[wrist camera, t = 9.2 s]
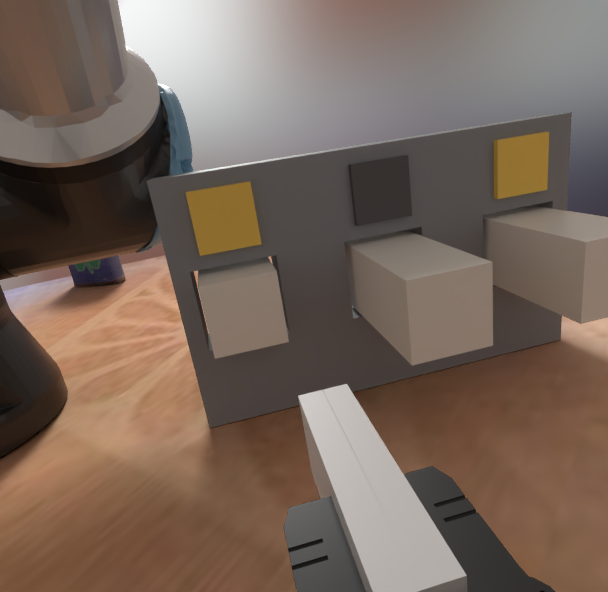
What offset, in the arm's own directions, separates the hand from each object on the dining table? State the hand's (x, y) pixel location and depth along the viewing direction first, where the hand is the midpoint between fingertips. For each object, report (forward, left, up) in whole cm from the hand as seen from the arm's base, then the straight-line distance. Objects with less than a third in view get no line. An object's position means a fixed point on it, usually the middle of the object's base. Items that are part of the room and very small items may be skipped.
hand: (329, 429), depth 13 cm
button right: (+18, +12, -3) cm, 22 cm away
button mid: (+8, +12, -3) cm, 15 cm away
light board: (+8, +19, -9) cm, 22 cm away
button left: (-1, +18, -3) cm, 19 cm away
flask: (-22, +63, -9) cm, 67 cm away
